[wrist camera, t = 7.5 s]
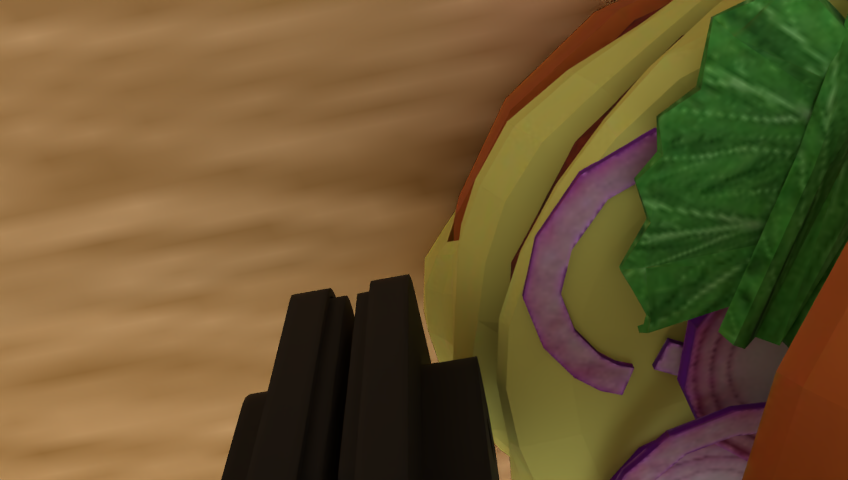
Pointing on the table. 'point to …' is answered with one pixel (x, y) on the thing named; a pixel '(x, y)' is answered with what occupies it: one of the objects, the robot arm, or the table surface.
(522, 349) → the cheeseburger
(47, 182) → the table surface
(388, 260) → the table surface
